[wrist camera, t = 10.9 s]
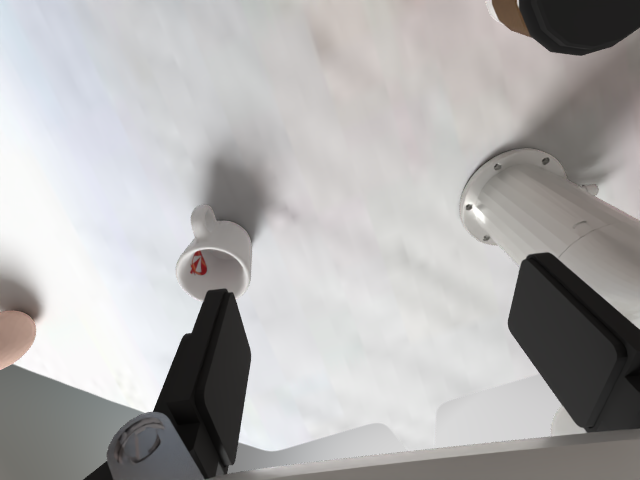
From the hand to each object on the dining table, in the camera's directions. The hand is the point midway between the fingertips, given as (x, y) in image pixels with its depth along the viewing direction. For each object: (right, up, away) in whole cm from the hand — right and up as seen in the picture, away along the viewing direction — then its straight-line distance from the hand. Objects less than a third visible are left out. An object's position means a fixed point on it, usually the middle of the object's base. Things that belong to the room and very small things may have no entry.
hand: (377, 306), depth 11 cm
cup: (-14, +3, +33) cm, 36 cm away
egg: (-44, -9, +38) cm, 59 cm away
